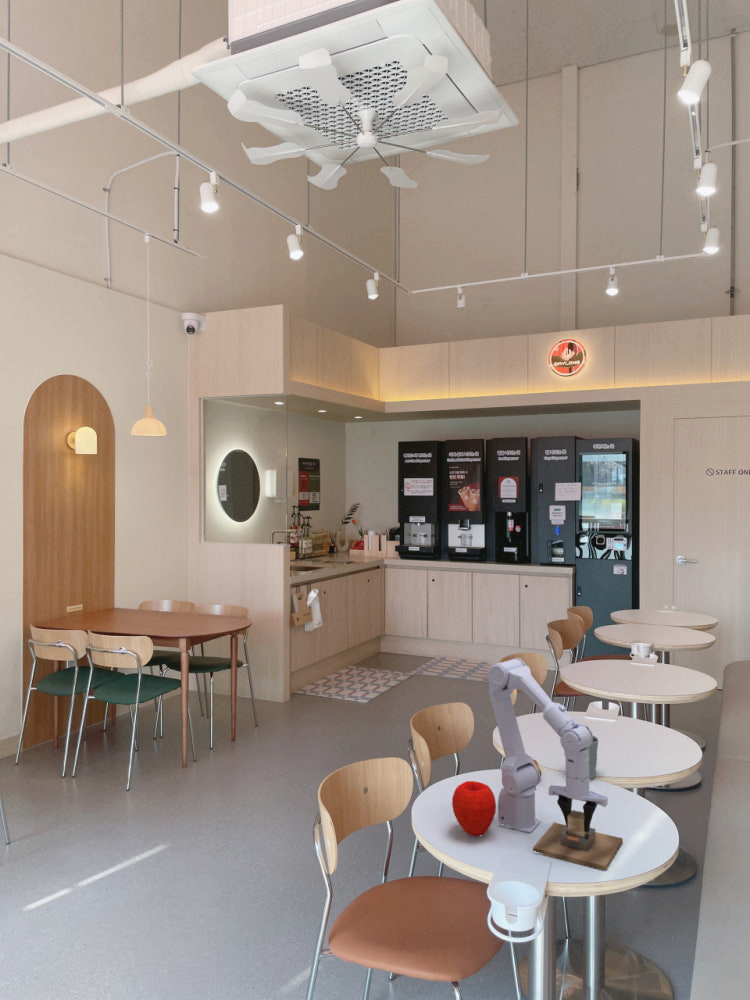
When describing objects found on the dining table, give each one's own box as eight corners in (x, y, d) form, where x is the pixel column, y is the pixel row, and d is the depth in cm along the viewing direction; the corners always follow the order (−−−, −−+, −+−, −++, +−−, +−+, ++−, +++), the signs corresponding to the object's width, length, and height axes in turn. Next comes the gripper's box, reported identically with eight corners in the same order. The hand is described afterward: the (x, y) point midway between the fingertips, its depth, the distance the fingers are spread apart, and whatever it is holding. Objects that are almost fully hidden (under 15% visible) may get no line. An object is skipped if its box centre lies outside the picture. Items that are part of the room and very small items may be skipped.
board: (532, 852, 188) (532, 847, 188) (554, 826, 201) (554, 822, 201) (605, 871, 178) (605, 866, 178) (622, 842, 192) (622, 838, 192)
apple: (444, 827, 202) (443, 778, 202) (482, 820, 206) (482, 771, 206) (464, 847, 191) (463, 795, 191) (505, 839, 195) (504, 788, 195)
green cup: (564, 780, 232) (563, 741, 232) (565, 768, 242) (565, 731, 242) (598, 783, 229) (598, 744, 229) (598, 771, 239) (598, 733, 239)
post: (567, 843, 189) (567, 816, 189) (572, 836, 193) (572, 809, 193) (583, 847, 187) (583, 819, 187) (588, 840, 191) (588, 813, 190)
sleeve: (560, 846, 188) (559, 834, 188) (569, 834, 195) (569, 822, 194) (587, 852, 185) (586, 840, 185) (595, 840, 191) (595, 828, 191)
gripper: (610, 774, 189) (611, 828, 189) (554, 764, 197) (555, 815, 197) (602, 784, 183) (603, 839, 183) (545, 773, 191) (546, 826, 191)
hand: (578, 828), depth 190 cm, fingers closed on post, 4 cm apart
